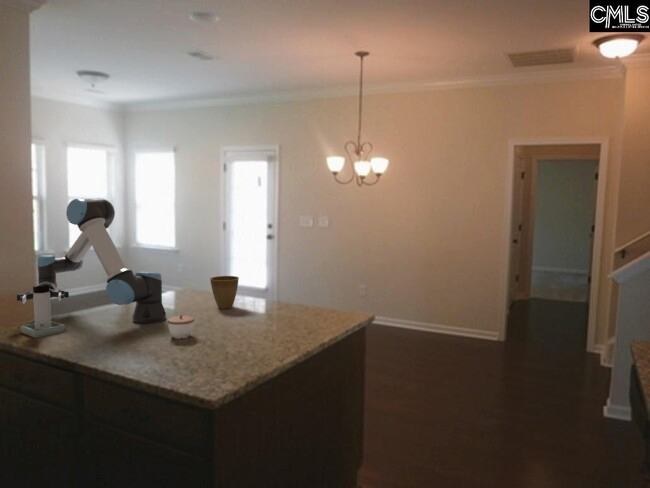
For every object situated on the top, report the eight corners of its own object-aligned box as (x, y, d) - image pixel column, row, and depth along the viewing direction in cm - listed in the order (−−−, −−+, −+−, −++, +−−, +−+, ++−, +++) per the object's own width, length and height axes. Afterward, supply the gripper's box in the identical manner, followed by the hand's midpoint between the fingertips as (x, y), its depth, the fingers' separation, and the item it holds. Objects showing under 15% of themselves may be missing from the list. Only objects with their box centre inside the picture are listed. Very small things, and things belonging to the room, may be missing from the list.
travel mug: (44, 332, 207) (42, 285, 205) (31, 331, 208) (29, 285, 206) (55, 328, 213) (53, 283, 211) (42, 327, 214) (40, 282, 212)
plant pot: (229, 303, 272) (229, 274, 270) (244, 307, 261) (244, 278, 259) (205, 306, 262) (205, 277, 260) (219, 311, 251) (219, 281, 249)
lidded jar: (199, 334, 210) (199, 313, 209) (184, 341, 200) (184, 319, 199) (178, 332, 213) (177, 311, 212) (162, 338, 203) (162, 316, 202)
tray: (64, 331, 212) (64, 325, 211) (35, 337, 202) (34, 331, 202) (49, 326, 219) (49, 320, 219) (20, 332, 209) (20, 325, 209)
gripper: (75, 296, 237) (74, 305, 218) (15, 300, 226) (8, 310, 207) (75, 281, 236) (73, 289, 217) (14, 284, 225) (7, 293, 206)
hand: (41, 299), depth 212 cm, fingers open, 13 cm apart
